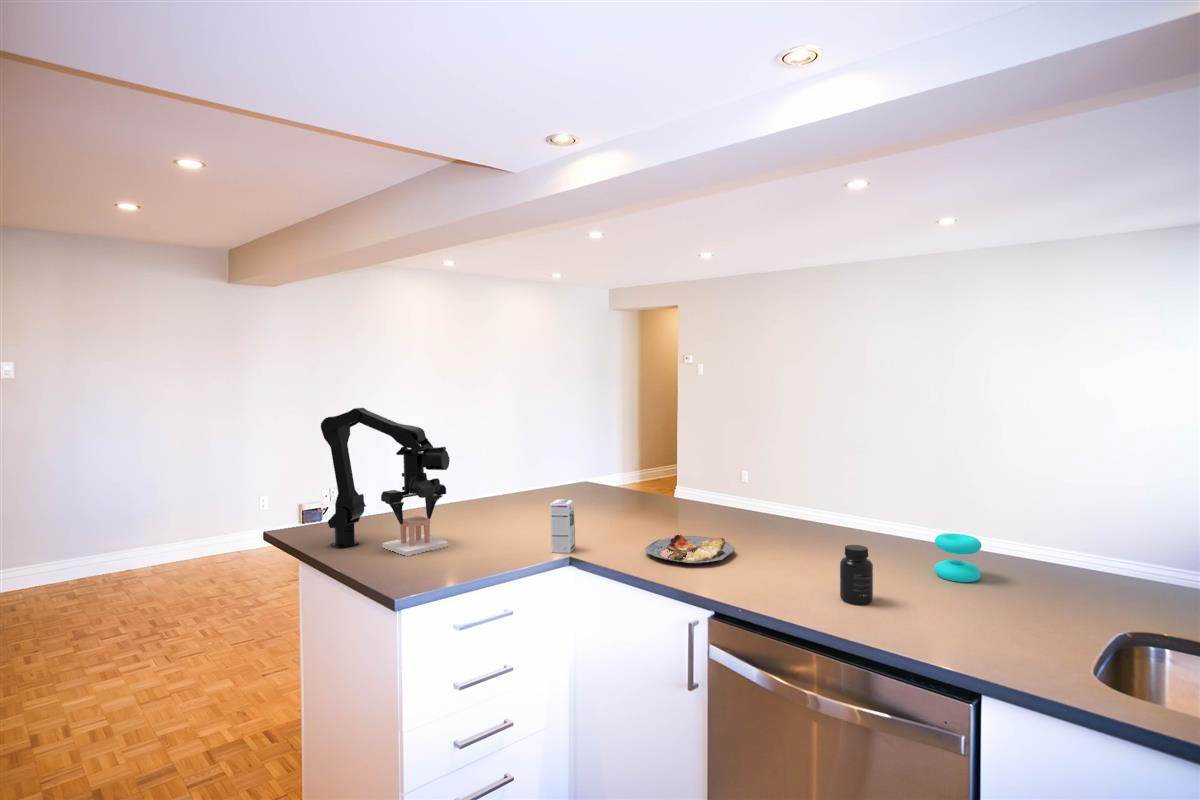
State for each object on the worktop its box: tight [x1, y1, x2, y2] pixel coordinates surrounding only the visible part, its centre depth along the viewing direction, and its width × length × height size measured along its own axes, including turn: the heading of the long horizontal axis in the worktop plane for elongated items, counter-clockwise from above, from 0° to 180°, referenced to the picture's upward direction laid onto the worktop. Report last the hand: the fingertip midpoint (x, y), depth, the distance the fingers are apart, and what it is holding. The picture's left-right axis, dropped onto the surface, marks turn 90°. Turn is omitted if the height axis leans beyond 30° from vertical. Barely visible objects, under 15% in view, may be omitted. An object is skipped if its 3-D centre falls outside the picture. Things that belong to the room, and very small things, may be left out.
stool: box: [399, 515, 431, 546], centre depth 191 cm, size 6×6×7 cm
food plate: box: [644, 534, 736, 565], centre depth 180 cm, size 25×23×4 cm
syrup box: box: [549, 498, 576, 554], centre depth 186 cm, size 6×6×14 cm
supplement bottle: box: [839, 544, 874, 606], centre depth 142 cm, size 7×7×12 cm
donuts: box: [934, 532, 982, 583], centre depth 157 cm, size 10×10×10 cm
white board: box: [381, 533, 450, 557], centre depth 191 cm, size 14×14×2 cm
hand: (415, 521), depth 191 cm, fingers open, 9 cm apart
